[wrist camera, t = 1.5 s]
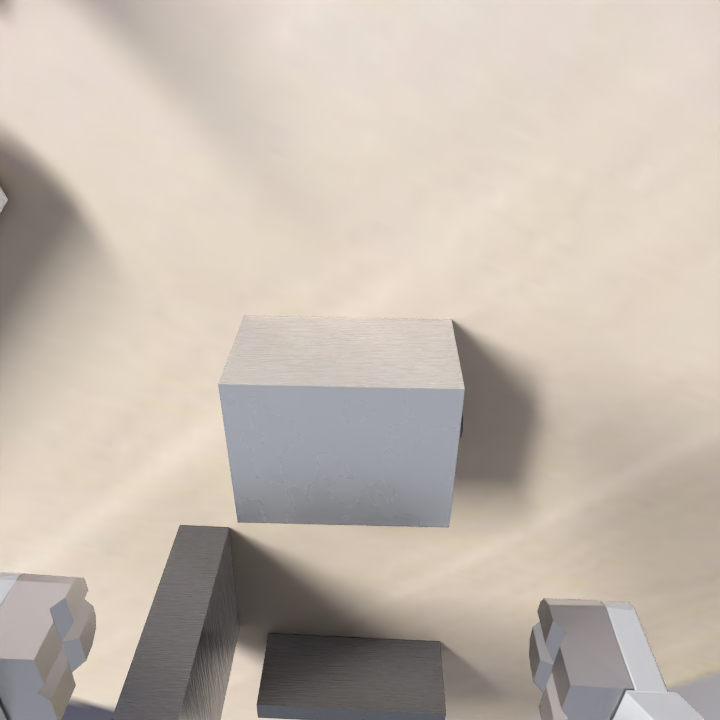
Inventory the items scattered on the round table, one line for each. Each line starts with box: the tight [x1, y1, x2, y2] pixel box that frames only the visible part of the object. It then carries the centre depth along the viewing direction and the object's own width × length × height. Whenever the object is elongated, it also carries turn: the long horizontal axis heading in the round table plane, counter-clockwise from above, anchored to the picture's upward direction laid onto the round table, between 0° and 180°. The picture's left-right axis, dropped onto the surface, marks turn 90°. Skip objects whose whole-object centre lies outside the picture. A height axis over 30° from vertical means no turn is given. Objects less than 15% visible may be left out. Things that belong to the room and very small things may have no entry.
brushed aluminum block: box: [218, 315, 465, 527], centre depth 30 cm, size 8×10×6 cm
